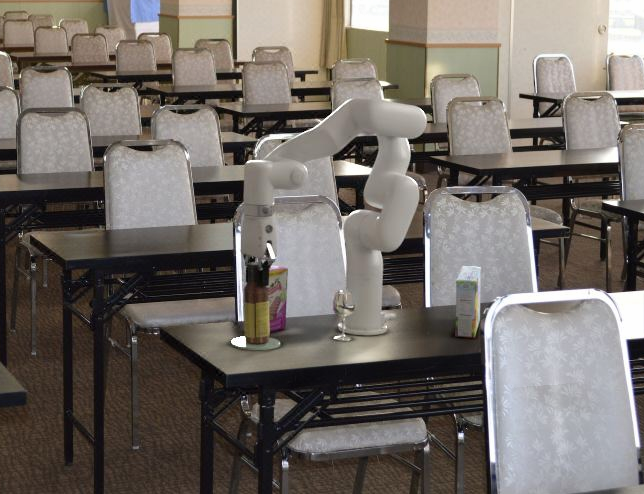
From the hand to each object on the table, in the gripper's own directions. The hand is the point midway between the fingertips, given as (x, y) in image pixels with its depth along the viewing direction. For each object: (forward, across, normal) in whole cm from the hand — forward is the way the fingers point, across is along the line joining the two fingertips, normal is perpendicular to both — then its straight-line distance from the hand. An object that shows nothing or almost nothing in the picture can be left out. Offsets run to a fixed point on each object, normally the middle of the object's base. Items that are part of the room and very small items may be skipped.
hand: (257, 283), depth 305 cm
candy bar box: (+16, +11, -10) cm, 22 cm away
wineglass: (+16, -5, -23) cm, 28 cm away
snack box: (+15, -11, -59) cm, 62 cm away
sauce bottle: (+15, 0, 0) cm, 15 cm away
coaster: (+15, 0, 0) cm, 15 cm away
